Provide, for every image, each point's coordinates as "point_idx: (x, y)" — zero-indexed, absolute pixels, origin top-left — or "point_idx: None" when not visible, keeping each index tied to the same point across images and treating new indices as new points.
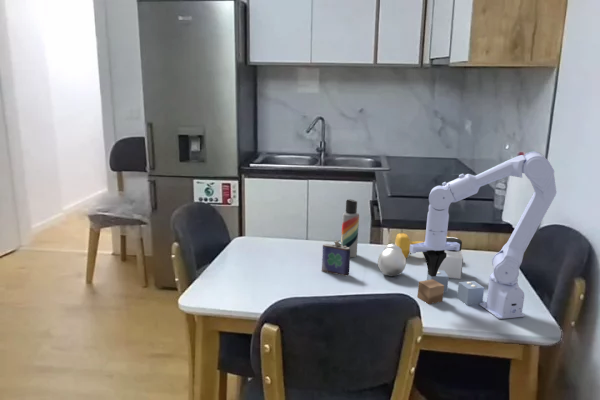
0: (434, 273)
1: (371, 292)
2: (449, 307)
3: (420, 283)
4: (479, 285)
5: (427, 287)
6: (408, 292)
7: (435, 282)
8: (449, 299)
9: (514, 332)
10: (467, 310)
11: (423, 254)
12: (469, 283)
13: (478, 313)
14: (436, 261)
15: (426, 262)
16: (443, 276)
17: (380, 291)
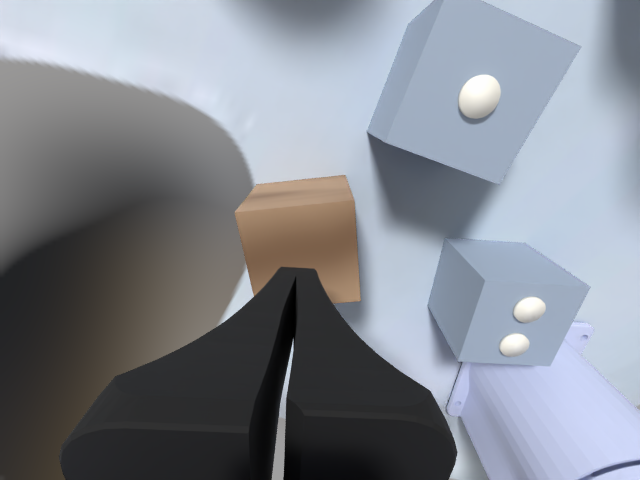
0: (292, 336)
1: (5, 45)
2: (344, 305)
3: (239, 228)
4: (553, 342)
5: (254, 288)
6: (237, 109)
7: (337, 251)
8: (398, 242)
9: None
10: (395, 339)
11: (154, 364)
12: (520, 319)
13: (415, 364)
14: (272, 465)
15: (235, 316)
16: (466, 172)
17: (67, 45)
